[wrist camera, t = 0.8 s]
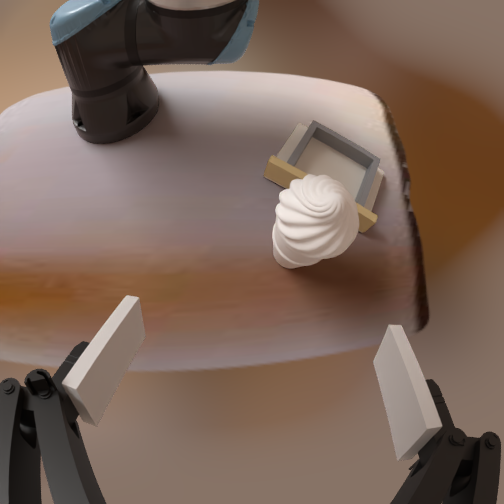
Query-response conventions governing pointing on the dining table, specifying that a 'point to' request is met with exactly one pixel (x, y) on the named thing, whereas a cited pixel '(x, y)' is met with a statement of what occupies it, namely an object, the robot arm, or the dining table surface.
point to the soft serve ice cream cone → (313, 221)
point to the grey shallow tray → (329, 166)
